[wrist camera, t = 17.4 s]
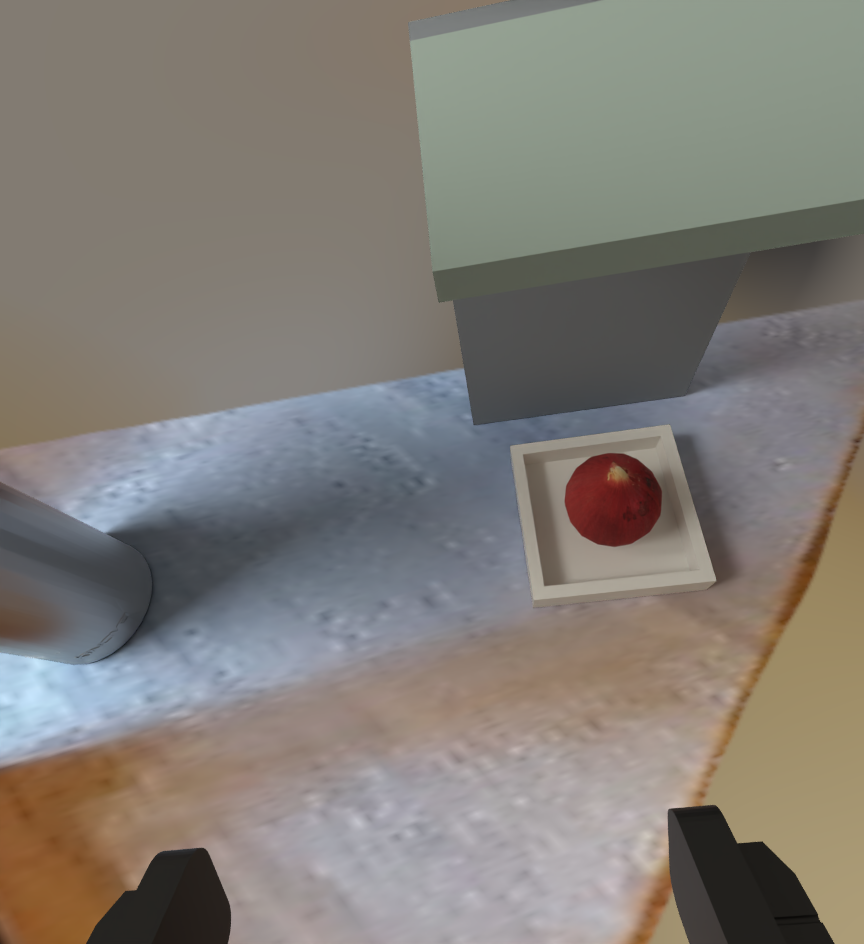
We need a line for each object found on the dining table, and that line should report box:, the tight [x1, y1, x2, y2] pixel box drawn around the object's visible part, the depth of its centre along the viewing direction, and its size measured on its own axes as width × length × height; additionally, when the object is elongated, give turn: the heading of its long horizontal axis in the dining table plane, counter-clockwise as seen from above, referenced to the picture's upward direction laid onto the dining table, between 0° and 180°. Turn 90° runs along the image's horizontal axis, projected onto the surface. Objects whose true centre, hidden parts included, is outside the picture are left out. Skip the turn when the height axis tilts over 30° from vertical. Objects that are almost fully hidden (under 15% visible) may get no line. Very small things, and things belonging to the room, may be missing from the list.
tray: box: [510, 424, 717, 608], centre depth 38 cm, size 11×11×2 cm
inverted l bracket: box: [408, 0, 864, 425], centre depth 29 cm, size 12×16×27 cm
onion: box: [564, 453, 662, 547], centre depth 35 cm, size 6×6×8 cm
